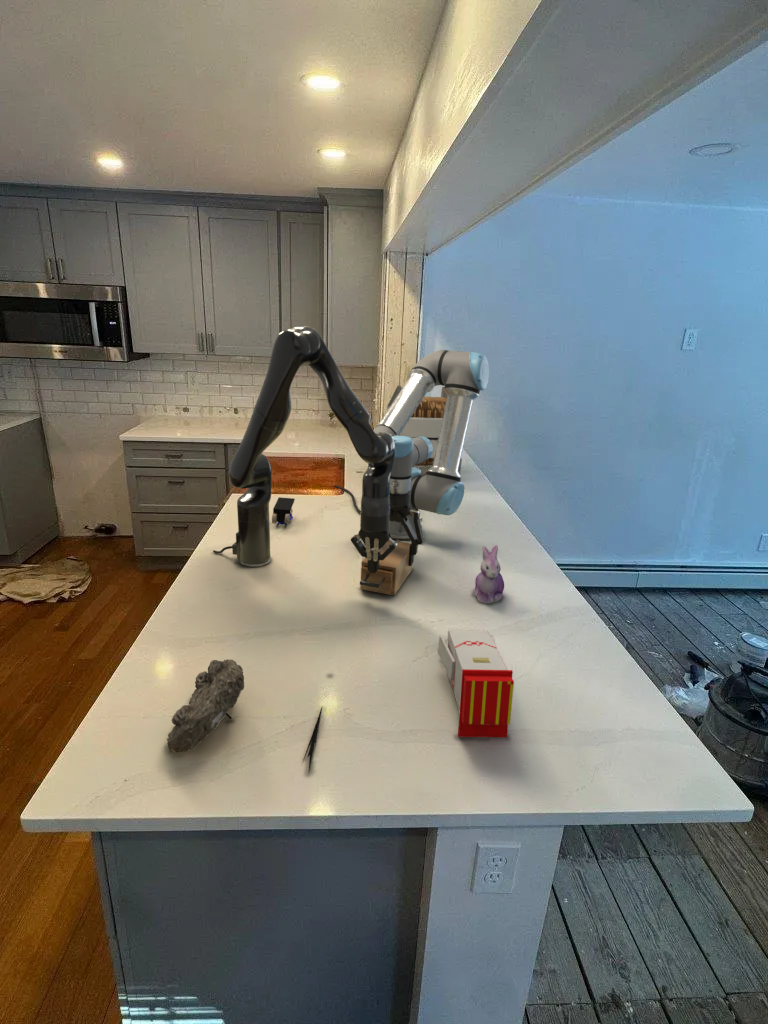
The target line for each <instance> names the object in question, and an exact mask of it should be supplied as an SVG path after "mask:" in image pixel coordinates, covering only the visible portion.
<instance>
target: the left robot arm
mask: <svg viewBox="0 0 768 1024" xmlns="http://www.w3.org/2000/svg"><path fill="white" fill-rule="evenodd" d="M336 363H337V362H335V360H334V358H333V356H332V354H331V352H330V351H329V349H328V347H327V344H326V343H325V341H324V339H323V338H322V336H321V334H320V333H319V332H318V331H317V329H315V328H314V327H312V326H310V325H299V326H295V327H289V328H286V329H283V330H282V331H281V332H279V333H278V335H277V336H276V338H275V340H274V343H273V346H272V351H271V355H270V359H269V362H268V368H267V371H266V374H265V378H264V381H263V384H262V385H261V389H260V392H259V395H258V398H257V399H256V402H255V405H254V407H253V410H252V413H251V416H250V419H249V422H248V424H247V427H246V430H245V432H244V435H243V437H242V440H241V442H240V444H239V446H238V448H237V449H236V452H235V454H234V455H233V457H232V459H231V461H230V464H229V470H228V477H229V480H230V483H231V484H232V486H233V487H235V488H237V489H241V490H242V489H244V490H245V489H246V490H245V492H244V493H243V494H241V496H239V497H238V498H237V501H236V510H237V527H238V528H237V529H238V531H237V532H235V542H234V543H233V544H231V545H229V546H225V547H223V548H222V549H221V550H214V549H213V550H212V553H215V554H219V555H220V554H222V553H223V552H224V551H226V550H229V549H230V550H231V549H232V551H231V552H232V555H235V556H236V563H239V564H241V565H242V566H245V567H252V568H253V567H254V568H255V567H262V566H265V565H268V564H269V563H270V562H272V561H271V560H272V557H271V532H270V531H271V529H270V528H271V527H270V526H271V525H270V502H271V500H272V499H271V498H272V479H273V478H272V477H273V475H272V465H271V462H270V460H269V459H268V457H267V456H266V455H265V454H263V453H264V452H265V451H266V449H267V448H268V447H270V446H271V445H272V444H273V443H274V442H275V441H276V440H277V439H278V438H279V436H280V435H281V434H282V433H283V432H284V429H285V427H286V425H287V423H288V421H289V418H290V415H291V412H292V398H291V387H292V384H293V381H294V379H295V377H296V375H297V373H298V371H299V369H300V368H301V367H304V366H306V365H308V366H309V367H310V368H311V369H312V370H313V371H314V373H315V374H316V375H317V377H318V378H319V380H320V381H321V384H322V386H323V390H324V393H325V394H324V395H325V398H326V401H327V403H328V406H329V409H330V410H331V412H332V413H333V415H334V417H335V418H336V419H337V421H338V422H339V424H341V426H342V428H343V429H345V431H347V434H348V436H349V439H350V441H351V443H352V445H353V448H354V450H355V451H356V453H357V455H358V456H359V458H360V459H361V460H362V461H363V462H365V463H366V464H367V469H366V471H365V472H364V473H363V476H362V480H361V481H362V482H361V484H362V485H361V499H360V511H361V514H360V518H359V519H360V520H359V521H360V522H359V524H360V526H359V527H360V528H359V531H358V534H354V535H353V536H352V537H351V538H350V542H351V543H352V545H353V546H354V547H355V550H356V551H357V552H358V553H359V555H360V556H361V557H362V558H364V559H365V558H367V560H368V567H367V569H368V571H369V573H374V574H375V573H376V572H377V571H378V570H379V560H384V559H385V558H386V557H387V556H388V555H389V554H390V553H391V552H392V551H393V550H394V549H395V548H396V546H397V545H398V542H396V541H397V540H394V539H391V535H390V533H389V521H390V476H391V472H392V468H393V463H394V458H395V443H394V440H393V438H392V437H391V436H390V435H389V434H388V433H385V432H378V433H375V432H374V428H373V427H372V425H371V422H372V417H371V415H370V413H369V411H368V410H367V409H366V408H365V406H364V405H363V404H362V402H361V401H360V399H359V398H358V397H357V396H356V394H355V393H354V391H353V390H352V389H351V387H350V386H349V384H348V383H347V381H346V379H345V378H344V376H343V374H342V372H341V370H340V369H339V367H338V365H337V364H336ZM393 540H394V541H395V542H394V541H393ZM387 542H388V545H387V547H388V549H387V550H386V551H385V552H384V553H382V554H381V550H382V547H383V546H384V545H385V544H386V543H387Z"/></svg>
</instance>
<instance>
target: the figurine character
mask: <svg viewBox="0 0 768 1024" xmlns="http://www.w3.org/2000/svg"><path fill="white" fill-rule="evenodd" d="M295 501H296V499H295V498H293V497H282V496H281V497H278V498H277V500H276V502H275V504H274V505H273V508H272V516H271V523H272V524H276V525H275V526H276V528H279V527H280V525H284V527H283V528H284V529H286V528H287V526H288V524H290V523H291V521H292V519H293V518H294V516H293V505H294V503H295Z"/></svg>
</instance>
